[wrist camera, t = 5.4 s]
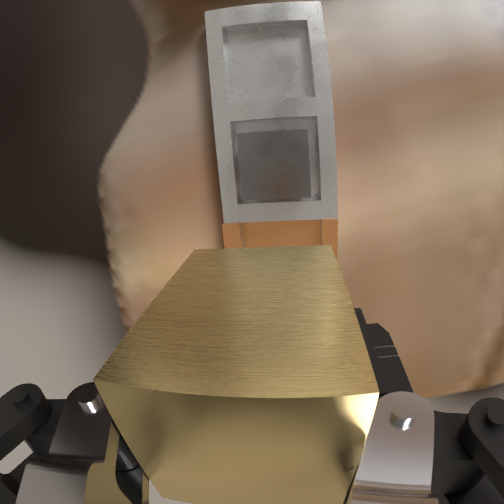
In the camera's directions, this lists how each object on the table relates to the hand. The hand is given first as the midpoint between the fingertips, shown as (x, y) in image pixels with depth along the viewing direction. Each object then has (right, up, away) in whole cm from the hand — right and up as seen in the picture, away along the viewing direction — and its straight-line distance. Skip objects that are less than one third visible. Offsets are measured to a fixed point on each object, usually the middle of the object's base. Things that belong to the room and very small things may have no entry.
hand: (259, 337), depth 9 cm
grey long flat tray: (+2, +10, +16) cm, 19 cm away
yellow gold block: (0, +1, +2) cm, 2 cm away
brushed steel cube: (+2, +10, +15) cm, 18 cm away
